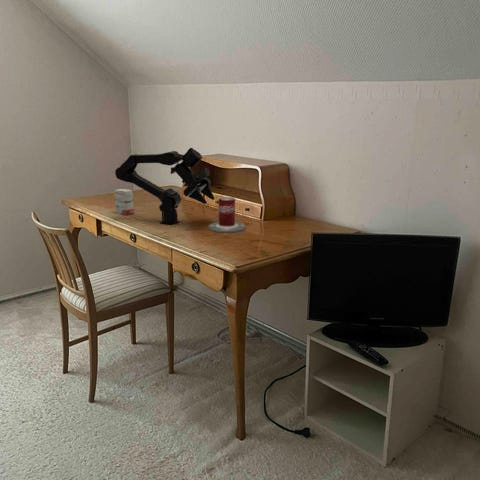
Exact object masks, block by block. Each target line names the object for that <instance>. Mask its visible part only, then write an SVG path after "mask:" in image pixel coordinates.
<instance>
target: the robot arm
mask: <svg viewBox="0 0 480 480" xmlns="http://www.w3.org/2000/svg"><path fill="white" fill-rule="evenodd" d="M202 159H203V155H202V154H201V153H200V152H199V151H197V150H196V149H194V148H193V147H189V149H188V150H187V151H186V152H185V153H184V154H182V153H181V154H180V153H179V152H178V151H176V150H172V151H167V152H164V153H156V154H155V153H153V154H149V153H148V154H137V153H136V154H131V155H129V156H128V157H127V159H126V160H125V161H124V162H123V163H122V164H120V166H119V167H117V168H116V169H115V171H114V174H115V178H116V179H118V180H119V181H122V182H126V183H130V184H133V185H135V186H137V187H138V188H141V189H142V190H143V191H145V192H147V193H149V194H151V195H153V196H154V197H156V198H157V199H158V200H159V201H160V202H161V204H160V205H159V206H158V208H159V210H160V212H161V221H159V224H162V225H163V224H164V225H168V226H171V225H174V224H178V223H180V221H179V220H178V213H177V211H178V210H177V209H178V208H179V205H180V204H181V202H182V197H181V195H180V194H179V191H176V190H174V189H173V188H167V189H163V187H160V186H158V185H157V184H156V183H153V182H151V181H150V180H148V179H146V178H145V177H143V176H141V175H139V174H138V172H137V170H136V168H137V166H138V164H160V165H164V166H171V167H170V175H172V174H175V173H176V174H177V175H178V176H179V177H180V179H181V180H182V181H181V183H182V184H184V183H185V184H186V185H187V187H185V188H184V189H183V192H182V193H183V195H184V196H185V197H186V198H187V197H188V198H190V199H192V200H195V201H197V202H199V203H202V204H204V205H206V204H207V200H206V199H205V197H204V196H206V197H207V198H209V199H210V200H212V201H214V200H215V197H214V193H213V191H212V190H211V184H212V183H211V179H210V178H209V176H211V174H210V170H209V168H206V167H203V168H201V169H200V170H201V171H198V172H197V171H193V170H192V169H191V168H194V167H196V166H197V165H198V164H199V162H200V161H201V160H202ZM173 165H174V166H173ZM202 194H203V195H202Z"/></svg>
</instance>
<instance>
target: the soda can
mask: <svg viewBox="0 0 480 480" xmlns="http://www.w3.org/2000/svg"><path fill="white" fill-rule="evenodd" d="M217 201H218V202H217V203H218V211H217V212H218V217H217V218H218V222H219V225H220V226H222V227H232V226H234V225H235V222H236V199H235V198H234V197H232V196H222V197H221V196H220V197H219V198H218V199H217Z"/></svg>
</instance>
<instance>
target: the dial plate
mask: <svg viewBox="0 0 480 480" xmlns="http://www.w3.org/2000/svg"><path fill="white" fill-rule="evenodd" d="M208 229H209V230H210V231H212V232H213V233H214V232H215V233H222V234H223V233H224V234H232V233H240V232H243V231H245V230H246V224H244V223H242V222H238V221H235V225H234V226H232V227H222V226H220V225H219V221H215V222H213V223H210V224H209V225H208Z"/></svg>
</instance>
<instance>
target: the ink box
mask: <svg viewBox="0 0 480 480" xmlns="http://www.w3.org/2000/svg"><path fill="white" fill-rule="evenodd" d="M114 203H115V205H114V206H115V207H114V208H115V214H118V215H123V216H130V215H134V214H135V207H134V206H135V205H134V192H133V190H131V189H125V188H120V189H119V188H117V189H114Z"/></svg>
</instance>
